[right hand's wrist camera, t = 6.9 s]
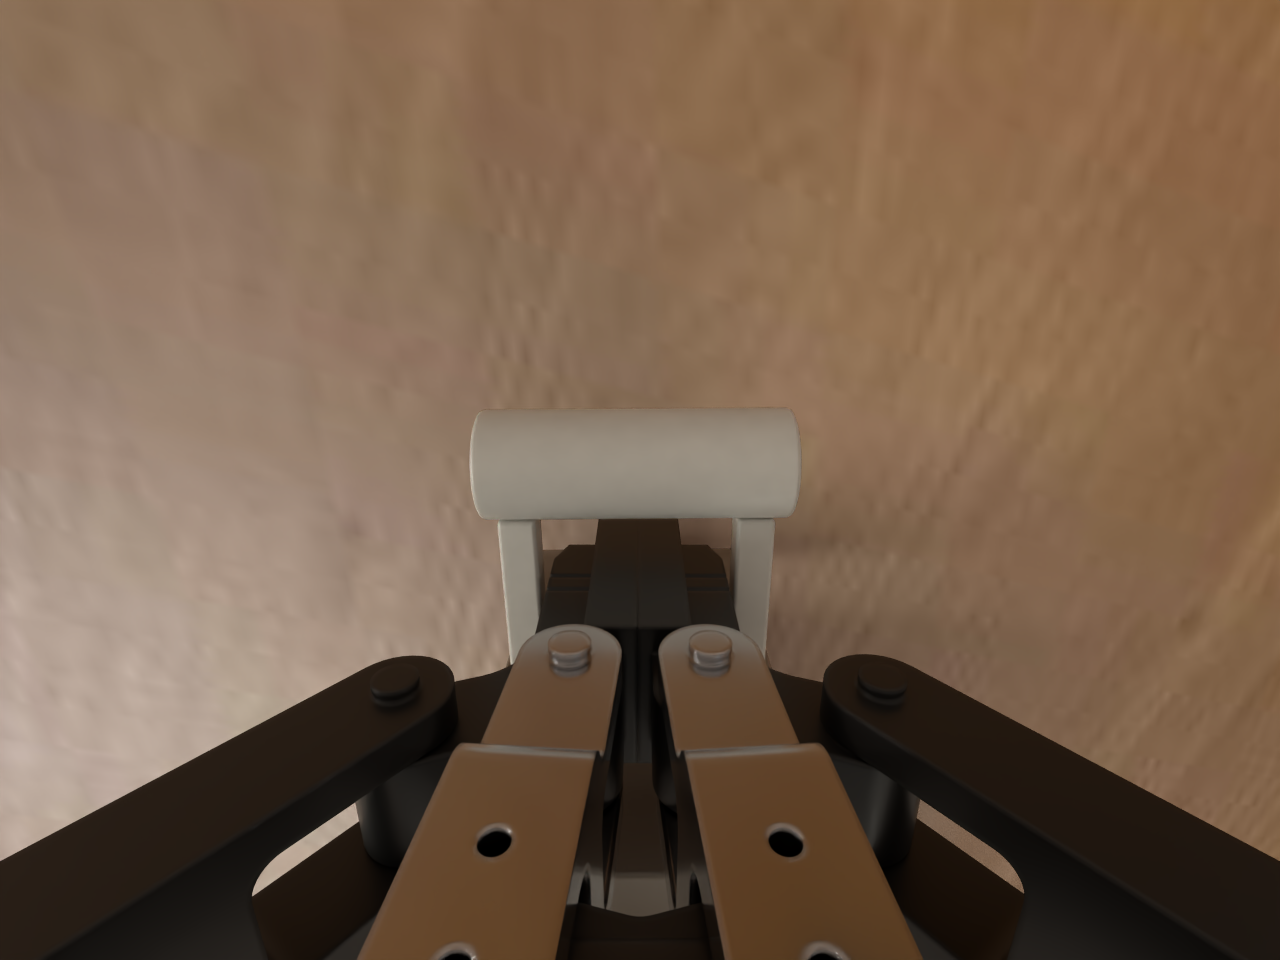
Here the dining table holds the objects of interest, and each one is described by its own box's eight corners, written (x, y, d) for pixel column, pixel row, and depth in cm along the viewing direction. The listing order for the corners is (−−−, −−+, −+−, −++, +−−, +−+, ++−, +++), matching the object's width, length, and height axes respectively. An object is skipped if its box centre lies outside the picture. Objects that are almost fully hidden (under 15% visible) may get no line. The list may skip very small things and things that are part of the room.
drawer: (523, 332, 16) (380, 492, 7) (749, 330, 16) (888, 488, 7) (570, 999, 26) (533, 1430, 17) (713, 998, 26) (754, 1429, 17)
